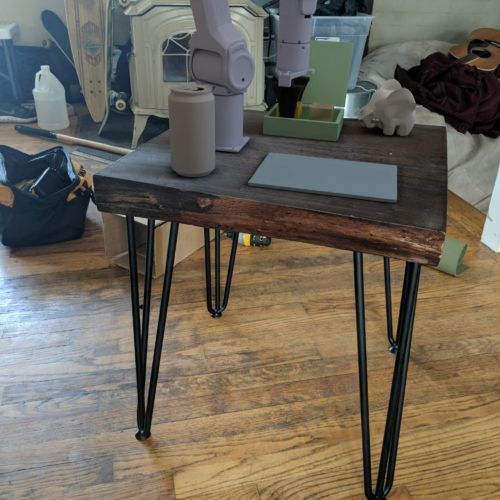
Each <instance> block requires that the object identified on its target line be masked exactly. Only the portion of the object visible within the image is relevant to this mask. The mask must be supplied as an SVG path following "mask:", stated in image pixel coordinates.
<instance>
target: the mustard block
mask: <svg viewBox="0 0 500 500" xmlns="http://www.w3.org/2000/svg"><path fill="white" fill-rule="evenodd" d="M302 105H303V104H302V102H299V101H298V102H297V106H296V111H295V116H294V119H301V115H302ZM277 117H280V114H279V107H278V105H277Z"/></svg>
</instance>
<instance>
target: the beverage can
mask: <svg viewBox="0 0 500 500" xmlns="http://www.w3.org/2000/svg"><path fill="white" fill-rule="evenodd" d="M169 91H170V92H169V94H168V96H167V109H168V125H169V126H168V127H169V145H170V164H171V165H170V166H171V169H172V170H173V171H174V172H176V174H177V175H180V176H182V177H187V178H201V177H204V176H208V175H210V174H211V173H212V171H214V170H215V169H216V150H215V97H214V95H213V94H212V92H211V91H212V88H211V87H210V86H207V85H200V84H197V83H183V84H175V85H172V86H170V87H169Z"/></svg>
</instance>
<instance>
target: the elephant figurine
mask: <svg viewBox="0 0 500 500" xmlns="http://www.w3.org/2000/svg"><path fill="white" fill-rule="evenodd" d="M416 104H417V103H416V100H415V98H414V95H413V94H412V92H411V91H410V90H409V89H408V88H406V87H402V85H401V84H400V82H399V81H398V80H397V79H395V78H390V79H388V80H385V81H383V82H382V84H381V85H380V87H379V89H376V91H374V92H373V94H371V97H370V100H369V101H368V103H367V104H366V105H364V106H362V107H361V108H360V109H359V110H357V111H356V112H355V113H354V115H358V114H359V113H361V112H362V116H361V117H360V118H358V121H362V122H363V123H364V125H365V126H366V127H367V128H369V129H373V128H375V127H376V125H377V124H378V128H379V129H381V130H382V134H384V135H385V136H393V135H394V132H395V131H396V135H397V136H399V137H407V136H409V134H410V133H411V131H412V130H413V128H414V126H415V123H416V118H417V114H416V110H419V109H420V108H423V105H416ZM374 119H376V120H378V123H377V124H376V123H375V122H374Z"/></svg>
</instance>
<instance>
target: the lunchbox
mask: <svg viewBox="0 0 500 500" xmlns="http://www.w3.org/2000/svg"><path fill="white" fill-rule="evenodd" d="M277 105H278V102H277V103H275V104H274V105H273V106H272V107H271V108H270V109H269V110H268V111H267V112H266V113H265V115H264V116H263V121H262V123H263V124H262V135H267V136H277V137H288V138H296V139H305V140H306V139H307V140H318V141H326V142H327V141H328V142H338V140H339V136H340V134H341V132H342V128H343V125H344V117H345V108H341V107H334V114H333V122H326V121H315V120H309V114H310V107H311V105H305V104H302V115H301V119H293V118H282V117H277Z"/></svg>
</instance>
